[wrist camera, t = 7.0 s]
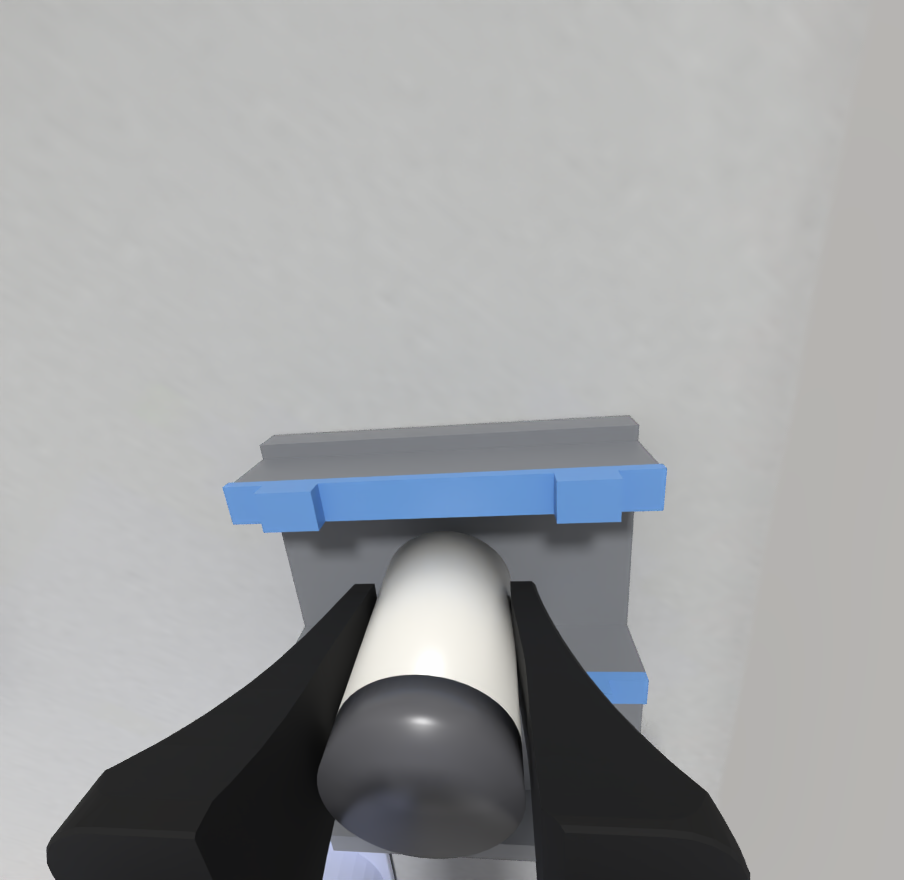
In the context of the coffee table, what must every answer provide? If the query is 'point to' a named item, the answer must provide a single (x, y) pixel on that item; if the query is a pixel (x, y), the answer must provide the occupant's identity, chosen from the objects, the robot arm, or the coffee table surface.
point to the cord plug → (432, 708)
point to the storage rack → (471, 530)
